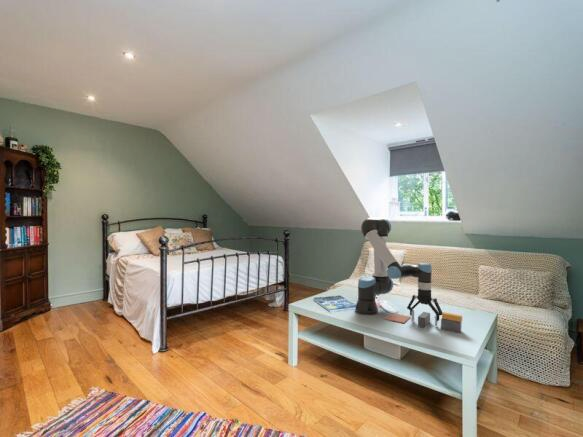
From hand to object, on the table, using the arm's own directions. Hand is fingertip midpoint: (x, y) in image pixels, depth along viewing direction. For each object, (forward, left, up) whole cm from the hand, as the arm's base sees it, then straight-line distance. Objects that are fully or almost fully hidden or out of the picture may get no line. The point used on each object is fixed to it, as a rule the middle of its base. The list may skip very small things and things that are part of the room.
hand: (424, 323), depth 188 cm
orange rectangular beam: (+15, 0, +6) cm, 16 cm away
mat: (-16, 0, -1) cm, 16 cm away
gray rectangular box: (+15, 0, -1) cm, 15 cm away
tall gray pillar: (0, 0, -1) cm, 1 cm away
